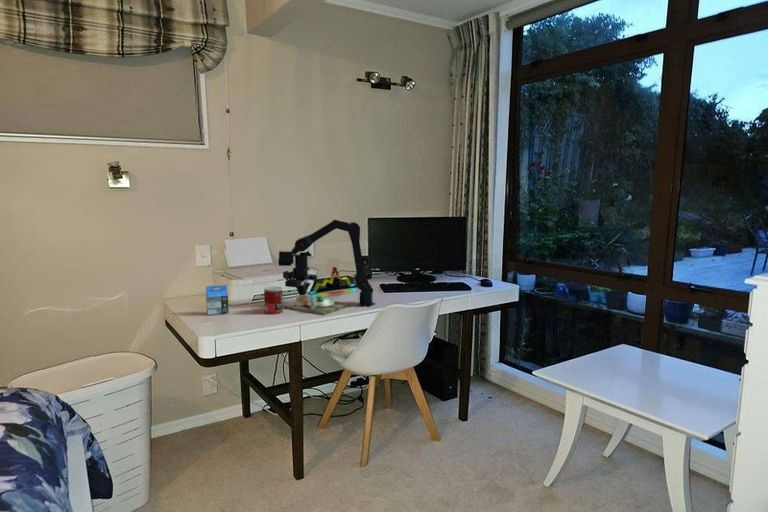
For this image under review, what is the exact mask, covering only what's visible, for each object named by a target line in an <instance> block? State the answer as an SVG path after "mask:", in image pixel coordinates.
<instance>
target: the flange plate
mask: <svg viewBox="0 0 768 512" xmlns="http://www.w3.org/2000/svg"><path fill="white" fill-rule="evenodd" d="M315 299H316V308H322V307H330V306H333V305H334V301H335V300H334V299H332V298H329V297H325V298H323V297H322V296H319V297H317V298H315ZM295 305H296V306H309V307H311V299H310V294H305V295H299V294H296V295H295Z"/></svg>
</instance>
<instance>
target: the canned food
mask: <svg viewBox="0 0 768 512" xmlns="http://www.w3.org/2000/svg"><path fill="white" fill-rule="evenodd" d="M263 290H264V291H263V295H264V312H265V314H267V315H279V314H282V313H283V309H284V308H283V307H284V306H283V305H284V304H283V302H284V301H283V300H284V299H283V287H281V286H267V287H264V289H263Z"/></svg>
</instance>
